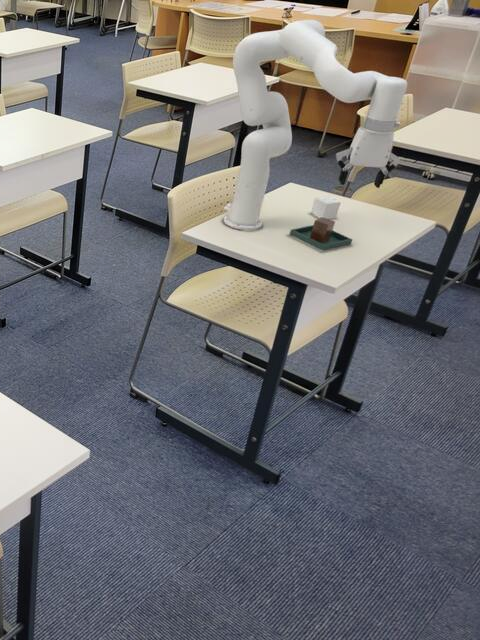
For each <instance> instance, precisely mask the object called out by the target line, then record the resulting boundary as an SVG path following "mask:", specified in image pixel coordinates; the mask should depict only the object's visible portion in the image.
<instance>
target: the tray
mask: <svg viewBox="0 0 480 640" xmlns="http://www.w3.org/2000/svg"><path fill="white" fill-rule="evenodd" d="M313 225H314V224H312V225H306V226H301V227H297V228H292V229H290V231H289V235H290V236H292V237H294V238H296V239H298V240H300V241H302V242H304V243H306V244H308V245H310V246H312V247H314V248H316V249H318V250H321V251H323V252H324V251H327V250H332V249H335V248H340V247H345V246H348V245H351V244H352V243H353V239H352V238H351V237H348V236H346V235H344V234H342V233H340V232H338V231H335V230H332V233H331V236H330V240H328V241H326V242H324V243H321V242H318V241H315V240H313V239H311V238H310V235H311V232H312V229H313Z"/></svg>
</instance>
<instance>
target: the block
mask: <svg viewBox="0 0 480 640" xmlns="http://www.w3.org/2000/svg"><path fill="white" fill-rule="evenodd" d="M335 224H336V221H335V220H333V219H328V218H323V217H321V218H320V217H318V218H317V219H315V220H314V223H313V224H312V225H313V229H312V232H311V235H310V238H311V239H313V240H315V241H318V242H321V243H324V242H326V241H328V240H330V236H331V233H332V230H333V229H334V227H335ZM333 231H334V230H333Z"/></svg>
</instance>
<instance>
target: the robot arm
mask: <svg viewBox="0 0 480 640" xmlns="http://www.w3.org/2000/svg"><path fill="white" fill-rule="evenodd" d="M338 50H339V49H338V46H337V44H335V43H334V42H333V41H331V40H330V39H328V38H326V30H325V27H324V25H323V24H322V23H321V22H320V21H318V20H316V19H304V20H295V21H292V22H290V23H288V24H287V25H285V26H284V27H283V28H282V29H277V30H270V31H268V30H267V31H260V32H254V33H251V34H249V35H247V36H246V37H244V38H243V39H242V40H241V41H239V43H238V44H237V46H236V48H235V50H234V52H233V57H232V68H233V73H234V77H235V81H236V84H237V94H238V100H239V107H240V112H241V117H242V121H243V122H244V124H245V125H247V126H250V127H256V126H262V128H260V129H257V130H254V131H252V132H250V133H249V134H248V135H247V136H245V138H244V139H243V141H242V144H241V155H240V157H241V158H240V166H239V170H238V176H237V180H236V184H235V185H236V186H235V188H234V189H235V190H234V194H233V199H232V203H230V202H229V203H227V204H226V206H224V207H223V210H224V211H226V212H227V214H226V215H225V216H224V218H223V223H224V224H225V225H226V226H228V227H231V228H232V229H237V230H241V231H244V230H256V229H257V230H258V229H260V228H261V227H262V226H263V221H262V220H261V219H260V215H261V211H262V206H263V203H264V199H265V194H266V192H267V191H266V190H267V185H268V182H269V178H270V173H271V167H270V160H271V159H272V158H275V157H279V156H282V155H285V154H286V153H287V152H288V151H289V150H290V148H291V146H292V141H293V132H292V126H291V119H290V111H289V105H288V103H287V100H286V98H285V96H284V95H282V93H280V92H278V91H268V85H267V79H266V75H265V73H264V71H263V69H262V68H261V66H260V64H261V63H263V62H272V61H277V60H282V59H286V58H290V57H293V58H294V59H296V60H297V61H299V62H300V63H301V64H303V65H304V66H305V67H306V68H308V69H309V70H311V71H312V72H313V73H314V76H315V78H316V80H317V82H318V84H319V85H320V86H321V88H322V89H324V91H326V92H327V93H329V94H330V95H331V96H332V97H334V98H335V99H337V100H338V101H340V102H343V103H347V104H353V103H359V102H361V101H362V102H363V101H369V100H370V102H369V106H368V110H367V112H366V115H365V118H364V122H363V124H362V126H359V127H358V129H357V130H356V133H355V135H354V137H353V139H352V142H351V144H350V146H349V148H347V149H343V150H342V151H338V152H336V153H335V159H336V163H337V165H338V166H339V167H340V172H339V175H338V182H339V184H340V185H341V186H344V185H345V184H346V181H347V178H348V175H349V171H348V170H349V169H351V168H352V167H353V166H356V167H367V168H368V167H369V168H379V171H377V173H376V177H375V179H374V184H373V185H374V186H375V188H376V189H380V187H381V185H383V183H384V180H385V177H386V175H388V174H389V172H391V171H392V170H394V169H395V168H396V167H397V166H398V165H399V164H400V162H402V161H401V158H400V157H398V156H397V155H396V154H394V153H392V148H393V143H394V136H395V132H394V129H395V128H399V127H401V126H400V125H401V122H399V121H397V118H398V115H399V113H400V109H401V107H402V103H403V100H404V97H405V94H406V92H407V88H408V81H407V80H406V79H404V78H402V77H398V76H388V75H386V74H383V73H380V72H378V71H375V70H366V71H359V72H355V73H354V72H352V71H351V70H349V69H348V68H346V67H345V66H344V65H342V64H341V63H340V62H339V61H338V60H337V58H336V57H337V54H338ZM344 157H346V161H343V158H344ZM390 159H391V160H392V161H391V163H389V164H388V161H389V160H390Z"/></svg>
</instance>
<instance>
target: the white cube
mask: <svg viewBox="0 0 480 640" xmlns="http://www.w3.org/2000/svg"><path fill="white" fill-rule="evenodd" d="M340 205H341V202H340V201H339V200H337V199H335V198H333V197H331V196H329V195H328V196H319V197H315V198H314V200H313V204H312V206H311V211H310V214H313V215H314V216H316V217H318V218H321V217H323V218H326V219H329V220H335V219H336V218H337V216H338V213H339V209H340Z"/></svg>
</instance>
